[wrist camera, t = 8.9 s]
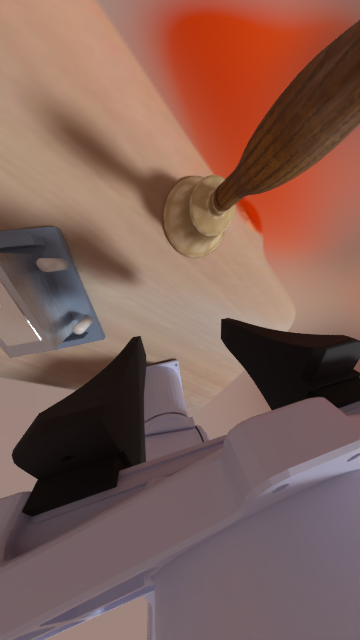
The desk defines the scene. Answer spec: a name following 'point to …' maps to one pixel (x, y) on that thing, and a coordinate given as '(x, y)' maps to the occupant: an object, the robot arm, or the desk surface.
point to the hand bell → (273, 147)
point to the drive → (30, 307)
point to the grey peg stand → (58, 277)
